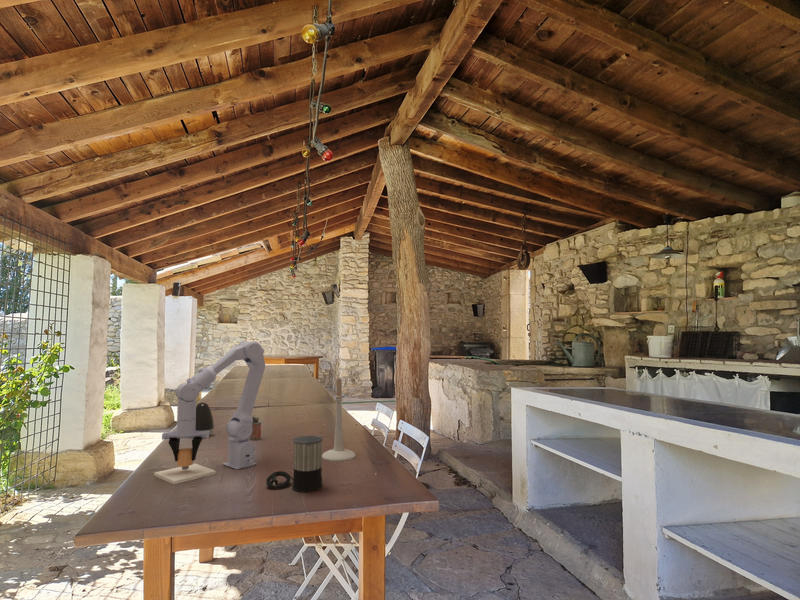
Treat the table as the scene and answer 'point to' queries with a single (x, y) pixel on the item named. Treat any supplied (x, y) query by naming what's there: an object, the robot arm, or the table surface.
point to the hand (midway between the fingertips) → (185, 460)
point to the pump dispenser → (204, 418)
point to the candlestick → (338, 432)
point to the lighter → (256, 429)
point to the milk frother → (303, 466)
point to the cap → (184, 457)
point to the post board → (184, 473)
